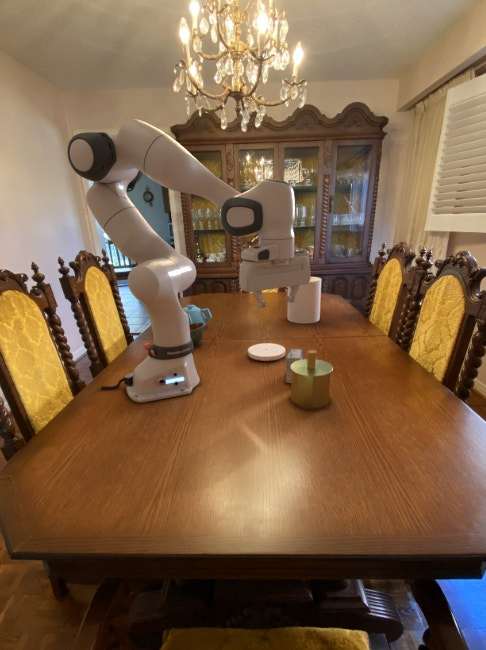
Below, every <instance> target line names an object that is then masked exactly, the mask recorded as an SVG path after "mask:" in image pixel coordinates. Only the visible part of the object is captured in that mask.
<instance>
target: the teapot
mask: <svg viewBox="0 0 486 650" xmlns="http://www.w3.org/2000/svg"><path fill="white" fill-rule="evenodd" d="M182 310H184V311H185V312H186V313H187V314H188V317H189V324H194V323H204V327H205V326H206V325H207V323H208V322H209V321H210V320H211V319H212V318H213V315H212V313H211V311H210V309H209V307H207V308H202V309H201V308H200V307H198V306H196V304H187V305H186V306H185V307H183V308H182ZM204 313H205V314H206V315H205V314H204Z"/></svg>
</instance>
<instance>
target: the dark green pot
mask: <svg viewBox="0 0 486 650" xmlns="http://www.w3.org/2000/svg"><path fill="white" fill-rule="evenodd" d="M189 327H190V338H191V339H192V343H193V349H194V348H195V347H198V346H200V344H201V342H202V340H203V337H204V336H205V335H204V334H205V326H204V323H194V324H189ZM151 336H152V337H153V333H152V332H151Z"/></svg>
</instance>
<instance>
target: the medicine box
mask: <svg viewBox="0 0 486 650" xmlns="http://www.w3.org/2000/svg"><path fill="white" fill-rule="evenodd" d="M302 359H303V349H299V348H289V349H288V353H287V355H286V359H285V361H286V362H285V382H286V384H291V379H292V371H291V364H292V363H293V362H295V361H298V360H302Z"/></svg>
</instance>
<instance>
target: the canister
mask: <svg viewBox="0 0 486 650" xmlns="http://www.w3.org/2000/svg"><path fill="white" fill-rule="evenodd" d="M290 292H291V288H290V286H289V287H287V295H289V294H290ZM321 295H322V278H321V277H319V276H311V279H310V281H309V283H308V284H303V285H299V290H298V292H297V294H296V296H295V302H292V303H289V302H287V316H286V317H287V319H286V320H287V321H289V322H291V323H294V324H313V323H317V322H319V321H320V317H321V316H320V315H321Z"/></svg>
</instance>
